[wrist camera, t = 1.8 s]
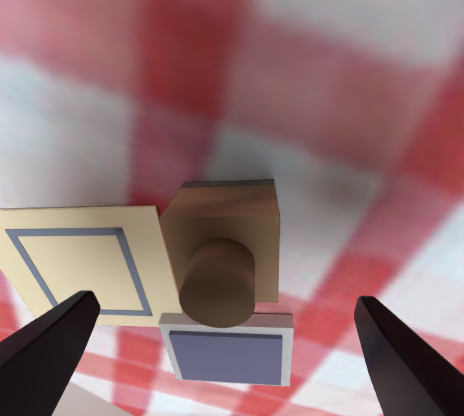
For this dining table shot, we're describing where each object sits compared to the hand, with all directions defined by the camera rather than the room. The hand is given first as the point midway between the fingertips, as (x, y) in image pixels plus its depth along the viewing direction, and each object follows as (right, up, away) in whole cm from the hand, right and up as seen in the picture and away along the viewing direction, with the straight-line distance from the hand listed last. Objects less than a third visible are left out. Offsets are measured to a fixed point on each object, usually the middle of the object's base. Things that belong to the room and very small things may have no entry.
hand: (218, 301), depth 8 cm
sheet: (-9, -1, +8) cm, 12 cm away
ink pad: (0, -7, +10) cm, 12 cm away
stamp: (0, +3, +5) cm, 6 cm away
